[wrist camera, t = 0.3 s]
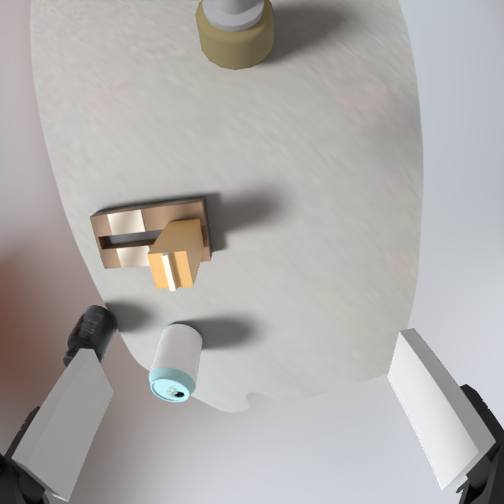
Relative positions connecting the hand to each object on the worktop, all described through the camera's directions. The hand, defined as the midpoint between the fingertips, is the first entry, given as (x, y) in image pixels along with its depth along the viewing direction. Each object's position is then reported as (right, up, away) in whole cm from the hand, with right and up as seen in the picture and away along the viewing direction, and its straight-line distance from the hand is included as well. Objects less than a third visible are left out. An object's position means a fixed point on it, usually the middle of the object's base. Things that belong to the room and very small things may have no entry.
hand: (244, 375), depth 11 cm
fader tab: (-8, +8, +26) cm, 28 cm away
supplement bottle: (-27, -7, +34) cm, 44 cm away
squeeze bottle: (-1, +30, +17) cm, 34 cm away
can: (-12, -9, +36) cm, 39 cm away
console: (-13, +8, +27) cm, 31 cm away
